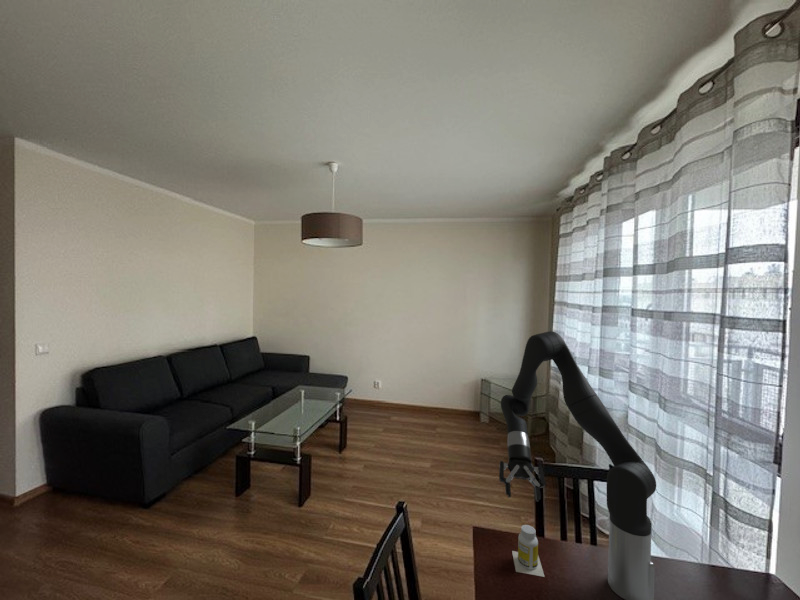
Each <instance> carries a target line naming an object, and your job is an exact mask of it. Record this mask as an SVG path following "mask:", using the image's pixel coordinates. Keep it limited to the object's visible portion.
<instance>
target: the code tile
mask: <svg viewBox="0 0 800 600" xmlns="http://www.w3.org/2000/svg"><path fill="white" fill-rule="evenodd" d="M511 552H512V557H513V558H512V559H513V564H514V568H515V569H514V570H515V572H516V573H520V574H521V573H522V574H527V575H532V576H537V577H540V578H541V577H544V578H546V577H545V574H544V570H543V566H542V563H541V559H540V556H539V555H538V566H537V568H536V569H533V570H530V569H526V568H524V567H523V566H521V565H520V563H519V561H518V551H515V550H512V551H511Z"/></svg>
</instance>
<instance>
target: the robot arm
mask: <svg viewBox="0 0 800 600" xmlns="http://www.w3.org/2000/svg"><path fill="white" fill-rule="evenodd" d="M526 341H527V342H526V344H525V347H524V348H525V349H524V353H523V357H522V360H521V367H520V370H519V373H518V375H517V378H516V380H515V382H514V383H513V387H512V388H511V394H512V395H511V394H505V395H503V396H502V398H501V401H500V408H501V411H502V412H501V413H502V414H503V416H504V417H503V418H504V419H505V422H506V428H507V444H506V447H507V454H508V463H506V462H504V461H502V460H500V462H499V467H498V468H499V470H498V471H499V475H498V478H499V479H498V480H499V482H500V483H503V484H504V488H505V495H506V496H507V498H512V492H511V491H512V489H511V481H512V480H513V479H514V478H516V479H517V480H524V481H527V480H528V482H529V483H530V484H532V486H533V487H534V489H533V490H534V496H535V497H534V498H535V502H539V501H540V500H541V498H542V496H541V495H542V494H541V489H544V488H545V486H546V484H547V483H546V479H545V478H546V477H545V475H544V469H543V466H542V465H539V466H534V465H533V462H532V454H531V453H532V452H531V445H530V439H529V434H528V426H527V425H528V424H527V421H526V420H525V419H524V418H521V417H525V416H527V415H528V414H529V413H530V403H531V399H532V396H533V394H534V392H535V390H536V388H537V385H538V376H537V370H538V369H539V367H540V366H541V364H542V363H544V362H547V361H553V363H554V365H555V366H556V368H557V369H558V372H559V373H560V376H561V381H562V393H563V395H562V396H563V400H564V403H565V405H566V407H567V408H568V411H569V412H570V413H571V415H572V417H573V418H574V419H575V421H576V423H577V424H578V425H579V426H580V427H581V429H583V430H584V431H585V432H586V433H588V435H589V436H591V437H592V438H593V440H595V441H596V442H597V443H598V444H599V446H601V447H602V448H603V450H604V451H605V452H606V455H607V457H609V459H610V461H611V463H612V465H613V467H612V468H610V469H609V471H608V472H607V476H606V507H607V510H608V514H609V516H608V517H609V525H608V531H609V532H608V556H607V557H608V558H607V559H608V560H607V583H608V586H609V587H610V589H611V590H612V591H613V593H615V594H616V595H617V596H619V597H620V598H622V599H623V600H655V599H654V598H655V597H654V596H655V595H654V594H655V591H654V590H655V564H654V563H653V561H652V560H651V559H652V554H651V551H652V521H651V519H650V517H649V516H648V502H647V501H648V499H649V498H650V497H651V496H652V495H653V494H655V492H656V490H657V481H656V478H655V476H654V473H653V472H652V471H651V468H649V466H648V465H647V464H646V462H645V461H644V460H643V459H642V458H641V456H640V455H639V454H638V452H637V451H636V450H635V448H634V447H633V446H632V445H631V444H630V442H629V441H628V439H626V437H625V435H624V434H623V432H622V431H621V429H620V428H619V426H618V425H617V423H616V422H615V420H614V419H613V417H612V416H611V414H610V413H609V412H608V409H607V408H606V407H605V405H604V403H603V402H602V400H601V399H600V397H599V395H598V394H597V393H596V391H595V390H594V389H593V387H592V385H591V384H590V383H589V381H588V380H587V378H586V376H585V375H584V372H582V370H581V369H580V366H579V365H578V363H577V362H576V360H575V358H574V356H573V354H572V352H571V351H570V348H569V346H568V345H567V343H566V341H565V340H564V339H563V337H562V336H561V335H560V334H559V333H557V332H556V331H552V330H550V331H545V332H541V333H536V334H533V335H531V336H529V338H528V339H527V340H526ZM506 469H508V470H509V472H510V473H509V474H508V475H507V477H505V475H504V473H505V471H506ZM533 472H535V474H537V476H538V480H537V479H536V477H535V475H534V474H533Z"/></svg>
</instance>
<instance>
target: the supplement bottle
mask: <svg viewBox="0 0 800 600" xmlns="http://www.w3.org/2000/svg"><path fill="white" fill-rule="evenodd" d="M536 534H537V533H536V529H535V528H534V527H533V526H532V525H529V524H523V525H521V527H520V533H519V534H518V539H517V540H518V541H517V552H518V561H519V563H520V565H521V566H523V567H524V568H526V569H530V570H533V569H536V568H537V566H538V556H539V540H538V538H537V535H536Z"/></svg>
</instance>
